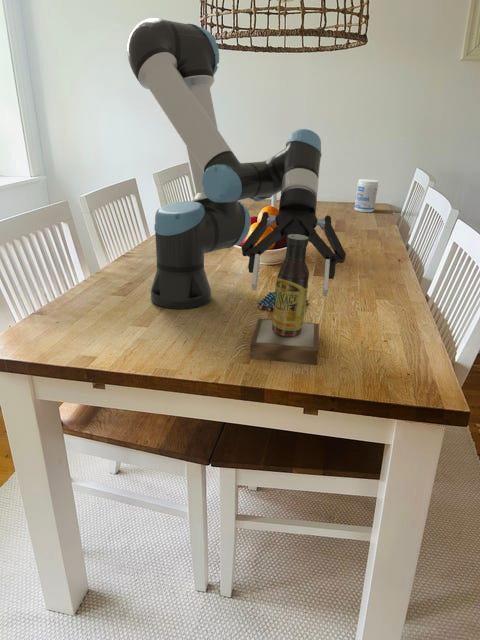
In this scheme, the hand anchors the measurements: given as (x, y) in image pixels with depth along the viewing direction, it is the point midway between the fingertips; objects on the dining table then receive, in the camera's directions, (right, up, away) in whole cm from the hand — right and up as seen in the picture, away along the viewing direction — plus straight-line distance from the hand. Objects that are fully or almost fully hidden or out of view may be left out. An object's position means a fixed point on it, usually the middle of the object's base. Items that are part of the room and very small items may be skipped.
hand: (289, 290), depth 93 cm
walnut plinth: (0, -11, +7) cm, 13 cm away
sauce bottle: (0, -8, +6) cm, 10 cm away
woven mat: (+2, -3, +29) cm, 29 cm away
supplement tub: (+52, +48, +148) cm, 164 cm away
